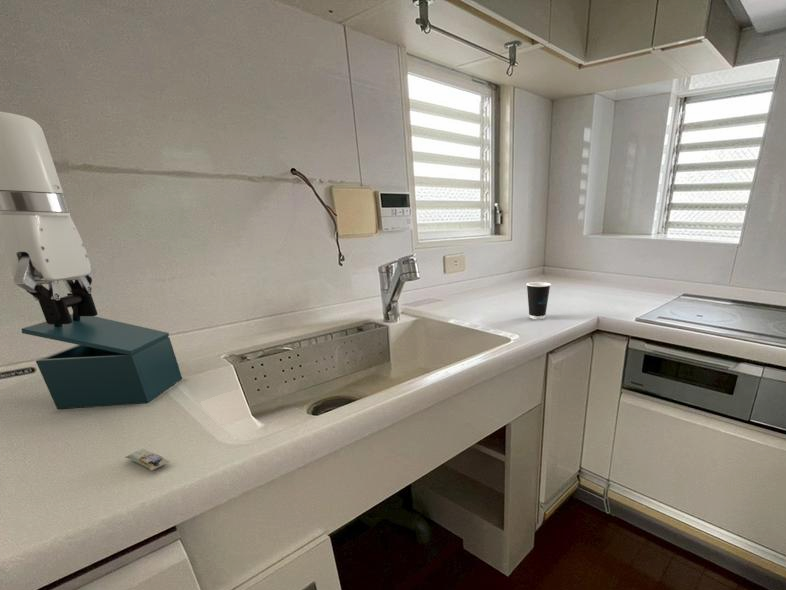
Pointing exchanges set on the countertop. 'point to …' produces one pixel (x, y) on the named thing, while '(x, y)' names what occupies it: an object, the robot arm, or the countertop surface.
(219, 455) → the countertop surface
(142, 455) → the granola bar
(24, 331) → the teal handled lid
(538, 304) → the dixie cup
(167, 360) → the teal box
